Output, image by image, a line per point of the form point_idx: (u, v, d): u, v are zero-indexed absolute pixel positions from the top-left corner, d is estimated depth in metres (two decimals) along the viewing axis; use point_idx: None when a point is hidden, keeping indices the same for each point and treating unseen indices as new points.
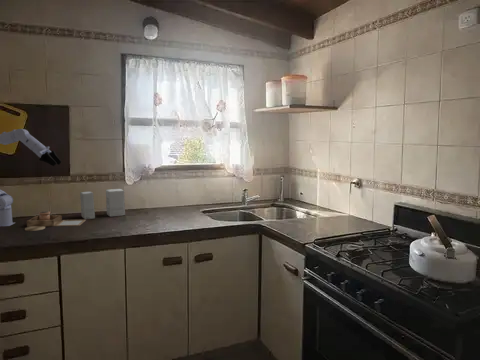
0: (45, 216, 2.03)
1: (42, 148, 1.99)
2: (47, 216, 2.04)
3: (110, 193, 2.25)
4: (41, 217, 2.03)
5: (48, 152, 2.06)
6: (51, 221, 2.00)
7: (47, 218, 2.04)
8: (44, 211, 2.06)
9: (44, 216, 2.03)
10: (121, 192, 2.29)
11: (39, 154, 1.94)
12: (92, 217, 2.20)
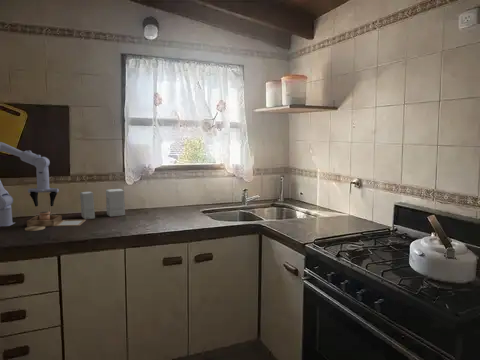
0: (45, 216, 2.03)
1: (37, 187, 2.01)
2: (47, 216, 2.04)
3: (110, 193, 2.25)
4: (41, 217, 2.03)
5: (53, 190, 2.04)
6: (51, 221, 2.00)
7: (47, 218, 2.04)
8: (44, 211, 2.06)
9: (44, 216, 2.03)
10: (121, 192, 2.29)
11: None
12: (92, 217, 2.20)
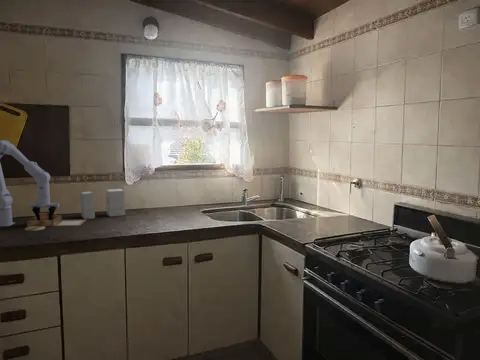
0: (45, 216, 2.03)
1: (38, 202, 2.02)
2: (47, 216, 2.04)
3: (110, 193, 2.25)
4: (41, 217, 2.03)
5: (53, 205, 2.05)
6: (51, 221, 2.00)
7: (47, 218, 2.04)
8: (44, 211, 2.06)
9: (44, 216, 2.03)
10: (121, 192, 2.29)
11: None
12: (92, 217, 2.20)
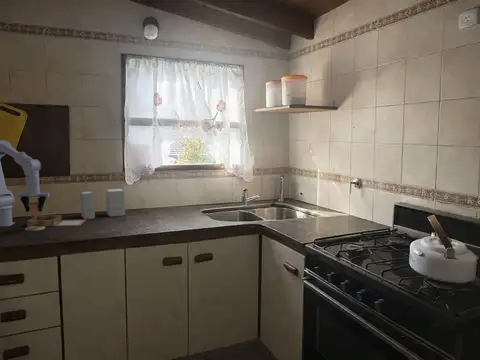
0: (35, 207, 1.92)
1: (27, 191, 1.90)
2: (37, 207, 1.93)
3: (110, 193, 2.25)
4: (31, 209, 1.92)
5: (43, 195, 1.93)
6: (51, 221, 2.00)
7: (37, 209, 1.93)
8: (33, 202, 1.95)
9: (34, 208, 1.92)
10: (121, 192, 2.29)
11: None
12: (92, 217, 2.20)
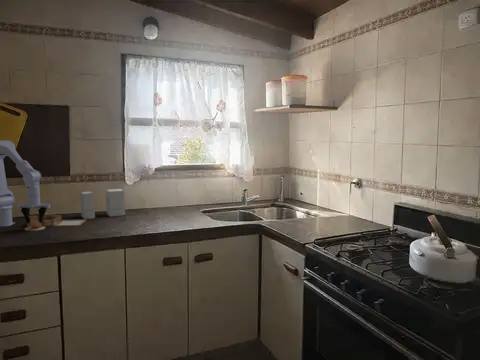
0: (35, 219, 1.92)
1: (27, 203, 1.91)
2: (37, 218, 1.93)
3: (110, 193, 2.25)
4: (31, 220, 1.92)
5: (44, 206, 1.94)
6: (51, 221, 2.00)
7: (38, 220, 1.93)
8: (34, 213, 1.95)
9: (34, 219, 1.92)
10: (121, 192, 2.29)
11: None
12: (92, 217, 2.20)
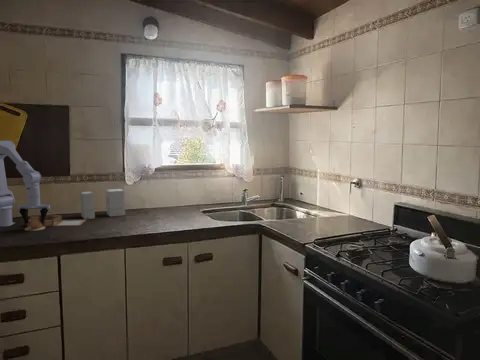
0: (36, 220, 1.93)
1: (27, 203, 1.91)
2: (39, 220, 1.94)
3: (110, 193, 2.25)
4: (32, 221, 1.93)
5: (44, 207, 1.94)
6: (51, 221, 2.00)
7: (39, 222, 1.94)
8: None
9: (35, 220, 1.93)
10: (121, 192, 2.29)
11: None
12: (92, 217, 2.20)
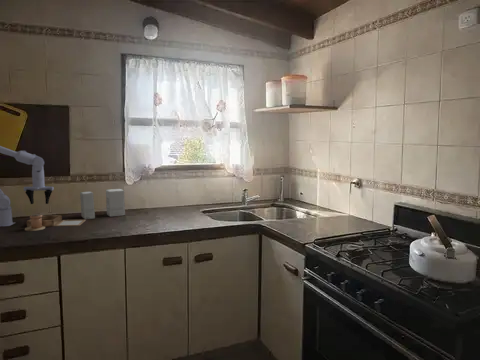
0: (36, 220, 1.93)
1: (33, 185, 2.08)
2: (39, 220, 1.94)
3: (110, 193, 2.25)
4: (32, 221, 1.93)
5: None
6: (51, 221, 2.00)
7: (39, 222, 1.94)
8: None
9: (35, 220, 1.93)
10: (121, 192, 2.29)
11: None
12: (92, 217, 2.20)
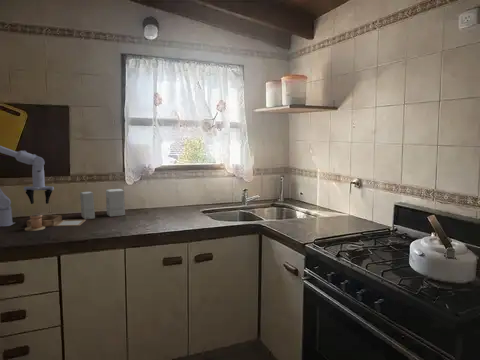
0: (36, 220, 1.93)
1: (33, 185, 2.08)
2: (39, 220, 1.94)
3: (110, 193, 2.25)
4: (32, 221, 1.93)
5: (48, 188, 2.11)
6: (51, 221, 2.00)
7: (39, 222, 1.94)
8: None
9: (35, 220, 1.93)
10: (121, 192, 2.29)
11: None
12: (92, 217, 2.20)
